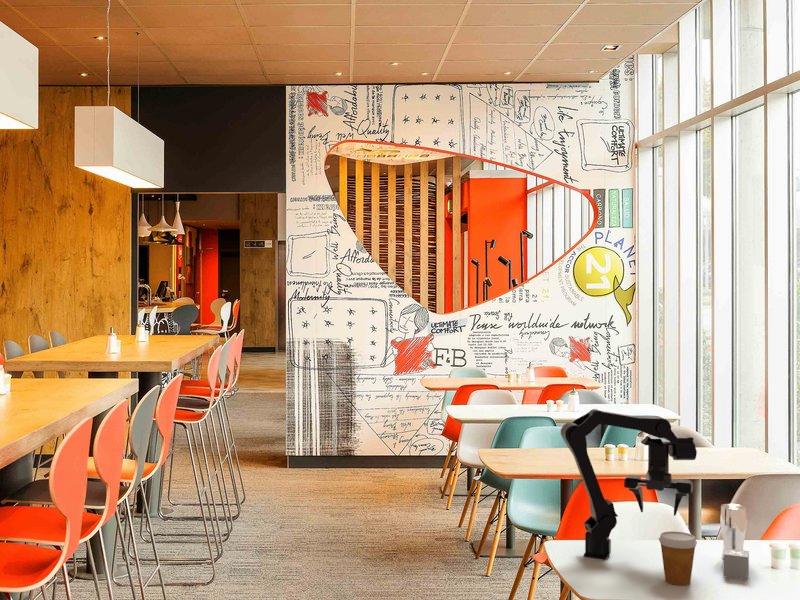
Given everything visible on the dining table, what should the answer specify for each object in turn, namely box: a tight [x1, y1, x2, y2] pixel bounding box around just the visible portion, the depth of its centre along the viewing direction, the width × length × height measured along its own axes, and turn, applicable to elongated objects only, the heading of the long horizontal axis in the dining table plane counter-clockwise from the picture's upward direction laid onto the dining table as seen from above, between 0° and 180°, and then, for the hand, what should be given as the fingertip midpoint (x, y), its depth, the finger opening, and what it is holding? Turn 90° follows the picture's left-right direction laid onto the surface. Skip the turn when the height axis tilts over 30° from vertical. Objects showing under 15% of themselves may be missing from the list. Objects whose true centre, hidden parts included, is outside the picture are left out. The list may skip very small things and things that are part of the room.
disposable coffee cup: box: [658, 530, 698, 586], centre depth 217 cm, size 10×10×12 cm
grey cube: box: [723, 549, 750, 580], centre depth 223 cm, size 6×6×6 cm
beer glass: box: [719, 503, 747, 560], centre depth 237 cm, size 7×7×15 cm
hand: (658, 513), depth 240 cm, fingers open, 9 cm apart
